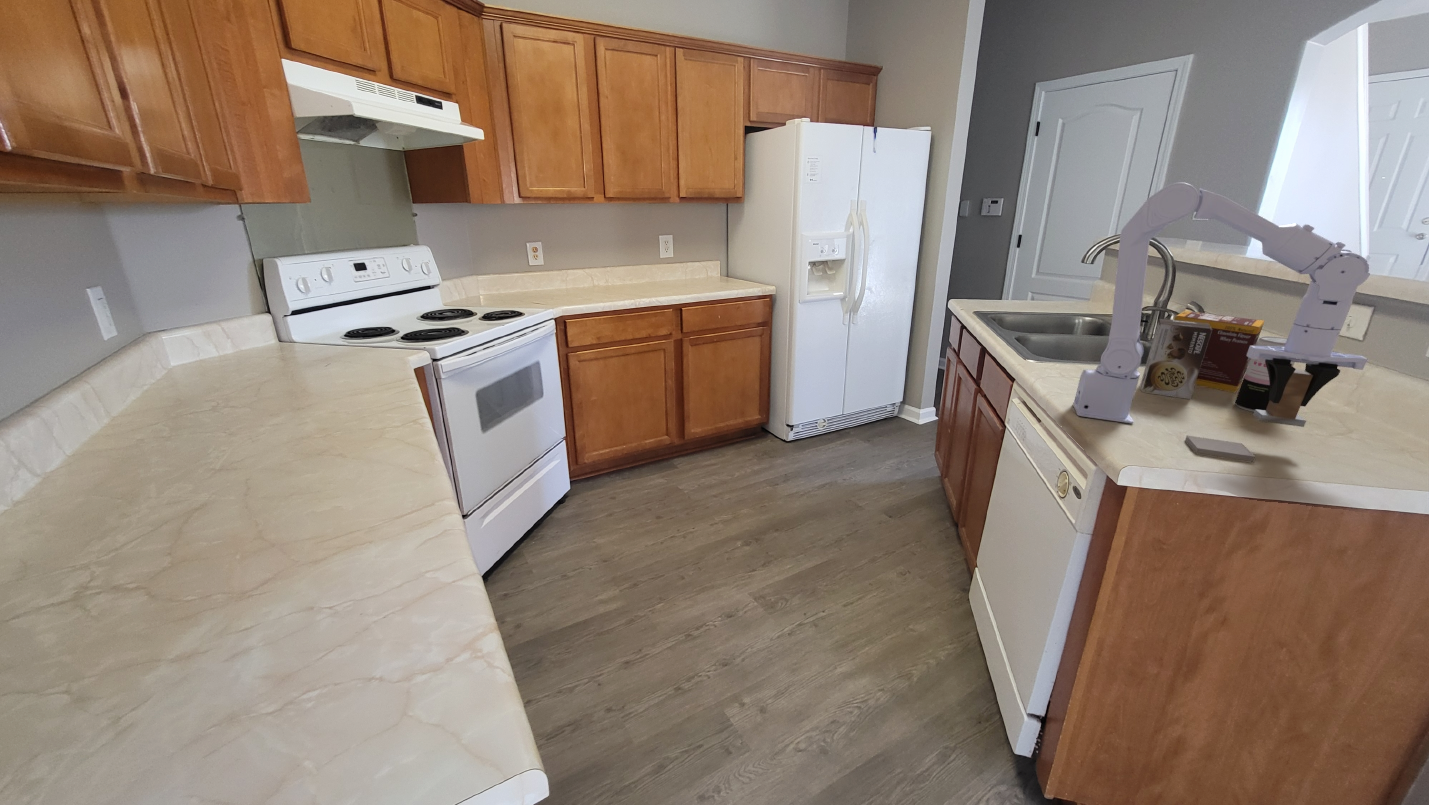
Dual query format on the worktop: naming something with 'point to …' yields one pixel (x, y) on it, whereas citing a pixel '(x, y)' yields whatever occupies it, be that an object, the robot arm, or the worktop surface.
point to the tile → (1220, 448)
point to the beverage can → (1257, 379)
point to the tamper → (1288, 402)
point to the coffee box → (1175, 358)
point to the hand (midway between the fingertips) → (1286, 402)
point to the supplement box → (1225, 349)
